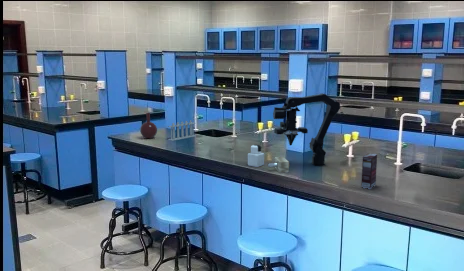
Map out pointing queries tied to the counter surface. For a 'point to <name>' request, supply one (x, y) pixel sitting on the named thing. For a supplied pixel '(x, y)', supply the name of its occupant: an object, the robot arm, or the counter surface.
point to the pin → (273, 164)
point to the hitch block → (282, 165)
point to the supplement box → (369, 170)
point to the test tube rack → (182, 130)
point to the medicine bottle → (255, 156)
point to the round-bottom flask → (148, 128)
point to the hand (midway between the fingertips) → (290, 145)
